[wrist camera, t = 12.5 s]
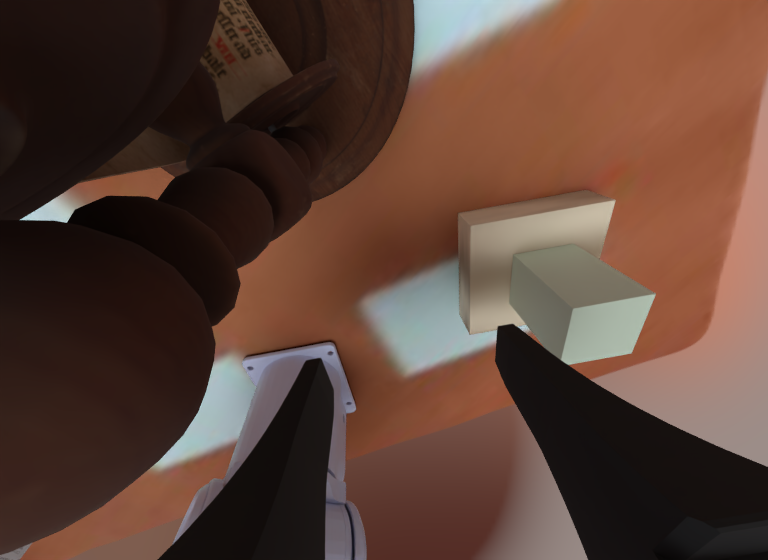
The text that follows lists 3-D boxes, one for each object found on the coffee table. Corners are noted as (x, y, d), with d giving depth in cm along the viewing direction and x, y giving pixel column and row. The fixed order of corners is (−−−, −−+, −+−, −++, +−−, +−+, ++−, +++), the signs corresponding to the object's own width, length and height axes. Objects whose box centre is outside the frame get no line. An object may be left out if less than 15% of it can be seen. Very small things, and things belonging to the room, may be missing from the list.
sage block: (563, 293, 21) (631, 353, 16) (509, 303, 21) (559, 366, 16) (573, 243, 19) (656, 293, 14) (513, 254, 19) (573, 308, 14)
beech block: (560, 293, 25) (584, 314, 22) (457, 311, 25) (469, 334, 22) (582, 188, 20) (615, 200, 17) (455, 210, 20) (470, 226, 17)
